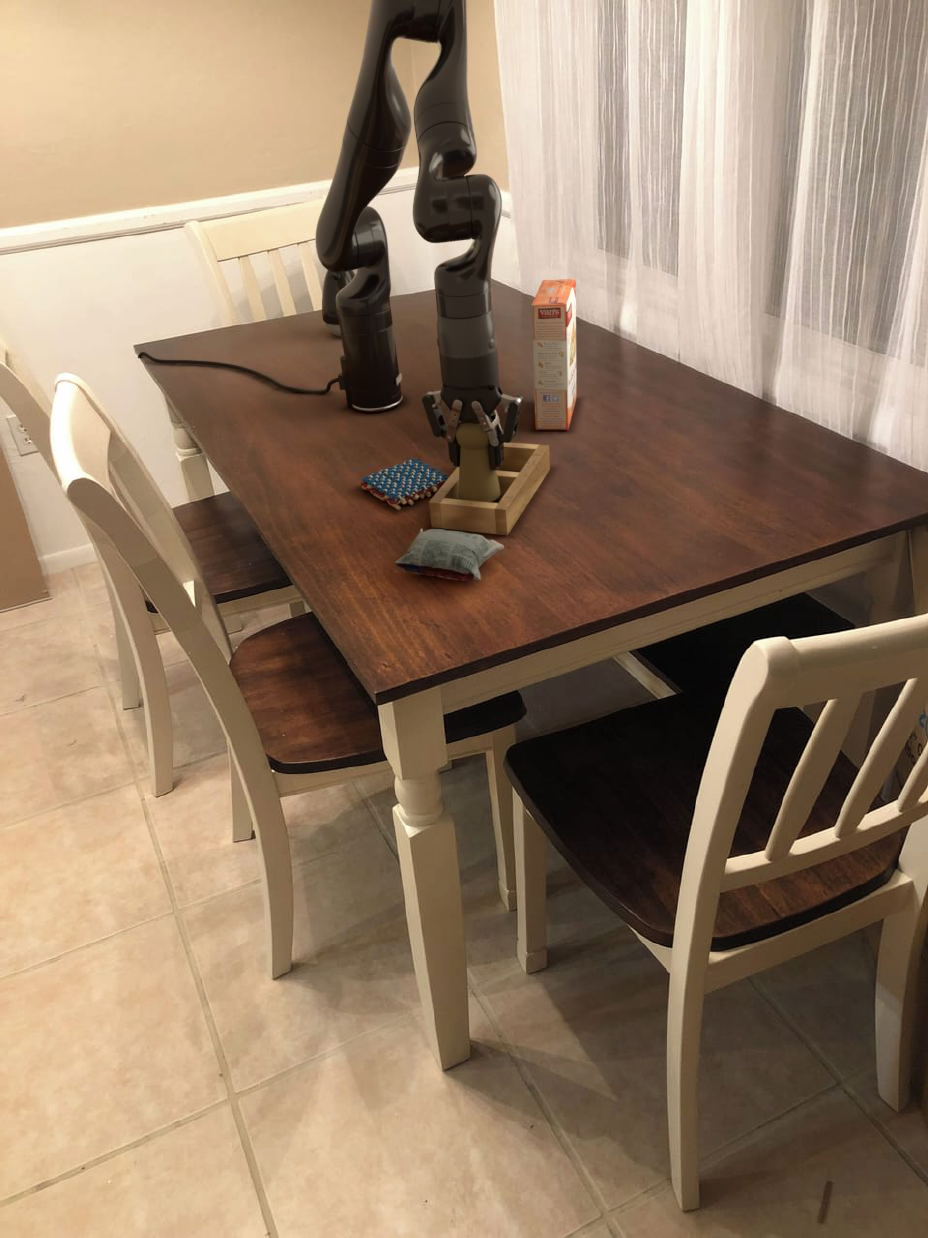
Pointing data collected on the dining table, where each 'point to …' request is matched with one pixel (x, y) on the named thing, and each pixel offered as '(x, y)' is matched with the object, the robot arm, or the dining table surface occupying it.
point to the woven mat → (404, 483)
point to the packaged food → (448, 554)
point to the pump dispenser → (333, 298)
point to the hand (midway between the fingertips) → (477, 465)
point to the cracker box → (554, 353)
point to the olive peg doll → (475, 465)
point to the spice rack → (513, 497)
